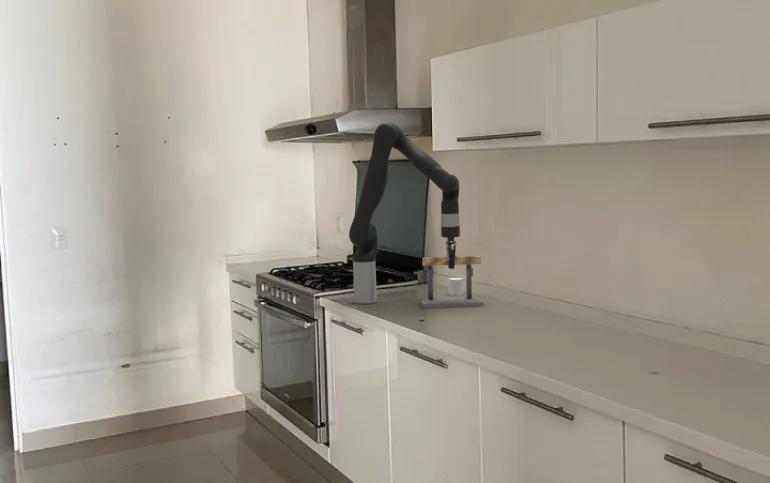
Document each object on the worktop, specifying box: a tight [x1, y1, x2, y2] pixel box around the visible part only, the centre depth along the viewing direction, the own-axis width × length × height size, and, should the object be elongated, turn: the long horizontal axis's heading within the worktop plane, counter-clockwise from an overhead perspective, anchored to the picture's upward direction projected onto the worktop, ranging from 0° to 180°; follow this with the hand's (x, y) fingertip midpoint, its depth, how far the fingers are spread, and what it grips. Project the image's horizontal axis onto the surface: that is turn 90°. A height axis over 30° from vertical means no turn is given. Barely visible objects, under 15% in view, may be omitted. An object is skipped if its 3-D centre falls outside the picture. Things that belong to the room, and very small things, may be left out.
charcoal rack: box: [426, 264, 474, 300], centre depth 312 cm, size 19×6×17 cm, turn 90°
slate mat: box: [421, 298, 484, 309], centre depth 305 cm, size 24×8×2 cm, turn 90°
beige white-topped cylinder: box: [447, 277, 465, 297], centre depth 329 cm, size 7×7×7 cm
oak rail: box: [421, 255, 482, 267], centre depth 303 cm, size 23×3×3 cm, turn 90°
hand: (451, 267), depth 304 cm, fingers closed on oak rail, 3 cm apart
